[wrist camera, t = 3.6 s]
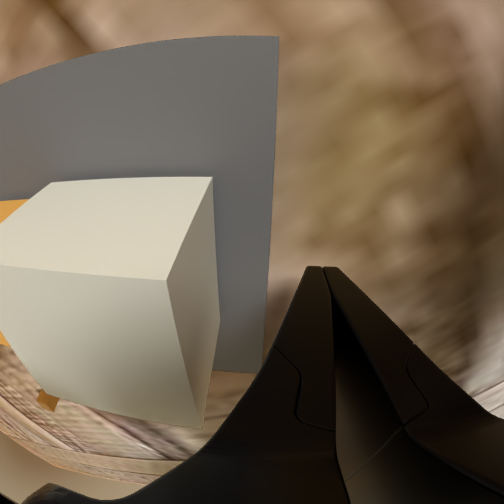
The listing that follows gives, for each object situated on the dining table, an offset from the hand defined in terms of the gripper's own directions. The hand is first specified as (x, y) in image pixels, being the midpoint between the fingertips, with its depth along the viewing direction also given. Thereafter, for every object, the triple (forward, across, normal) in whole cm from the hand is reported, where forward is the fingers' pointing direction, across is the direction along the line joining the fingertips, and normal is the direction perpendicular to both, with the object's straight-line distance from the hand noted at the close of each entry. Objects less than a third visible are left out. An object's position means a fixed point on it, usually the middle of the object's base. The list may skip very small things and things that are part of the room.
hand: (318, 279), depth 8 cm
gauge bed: (+2, +11, 0) cm, 12 cm away
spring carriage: (+1, +5, 0) cm, 5 cm away
